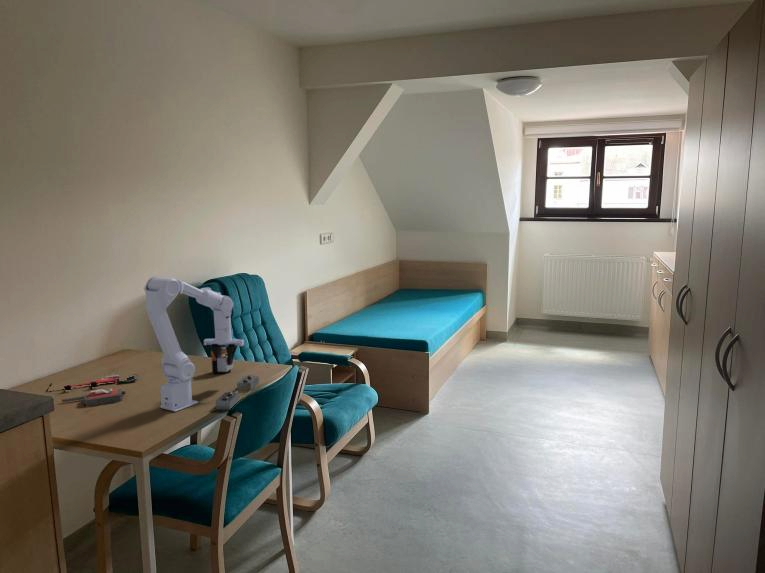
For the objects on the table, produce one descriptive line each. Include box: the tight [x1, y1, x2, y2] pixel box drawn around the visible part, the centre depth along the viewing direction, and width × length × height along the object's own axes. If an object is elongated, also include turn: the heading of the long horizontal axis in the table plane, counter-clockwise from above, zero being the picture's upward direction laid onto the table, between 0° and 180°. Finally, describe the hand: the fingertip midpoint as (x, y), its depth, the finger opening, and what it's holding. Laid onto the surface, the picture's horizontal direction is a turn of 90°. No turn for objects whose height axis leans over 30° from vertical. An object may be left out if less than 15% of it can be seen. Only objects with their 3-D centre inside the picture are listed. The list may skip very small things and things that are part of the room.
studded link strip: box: [214, 374, 260, 411], centre depth 195 cm, size 26×5×4 cm, turn 172°
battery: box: [210, 346, 232, 375], centre depth 222 cm, size 4×7×10 cm, turn 111°
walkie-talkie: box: [61, 388, 126, 407], centre depth 192 cm, size 9×4×20 cm
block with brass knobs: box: [217, 353, 235, 372], centre depth 203 cm, size 6×4×6 cm, turn 172°
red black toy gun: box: [64, 373, 138, 391], centre depth 211 cm, size 30×3×15 cm
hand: (225, 364), depth 203 cm, fingers closed on block with brass knobs, 3 cm apart
